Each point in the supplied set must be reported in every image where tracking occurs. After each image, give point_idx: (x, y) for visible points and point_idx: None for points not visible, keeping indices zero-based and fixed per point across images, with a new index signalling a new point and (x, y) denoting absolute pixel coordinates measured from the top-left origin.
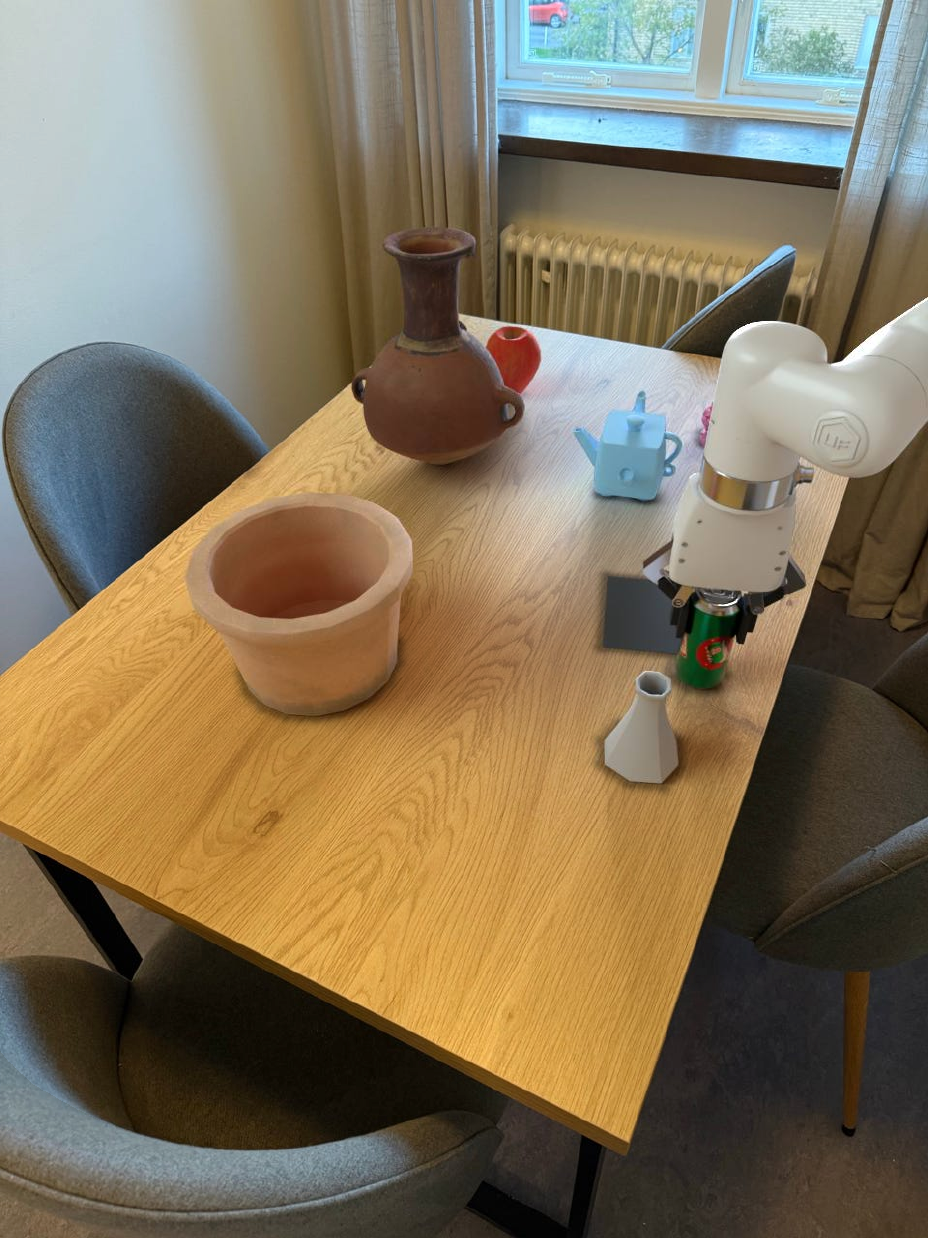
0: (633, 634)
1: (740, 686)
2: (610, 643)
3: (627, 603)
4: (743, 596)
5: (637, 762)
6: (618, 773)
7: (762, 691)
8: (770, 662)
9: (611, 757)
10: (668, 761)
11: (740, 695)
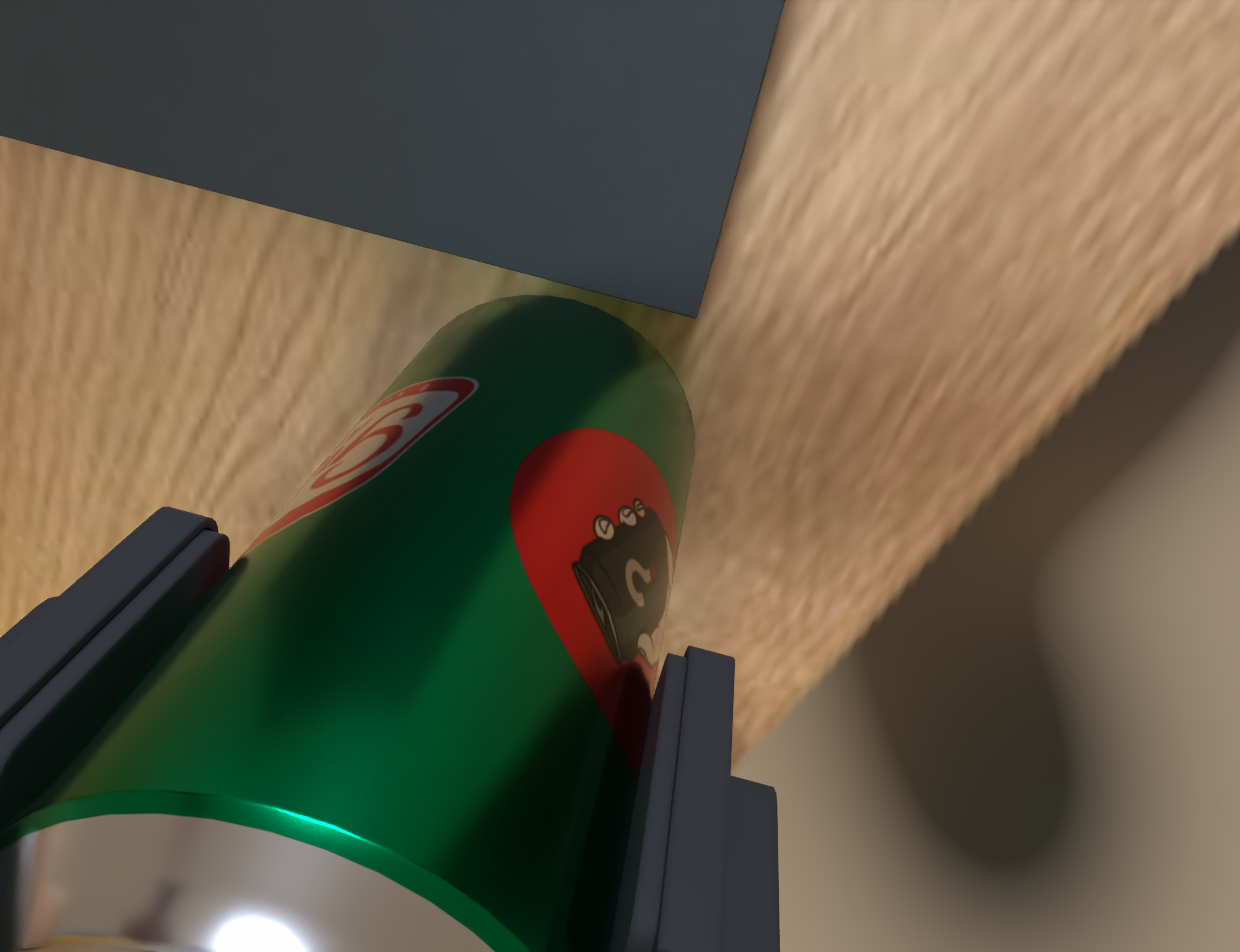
0: (177, 30)
1: (766, 530)
2: (31, 108)
3: None
4: (646, 948)
5: None
6: None
7: (874, 577)
8: (1036, 381)
9: None
10: None
11: (743, 584)
